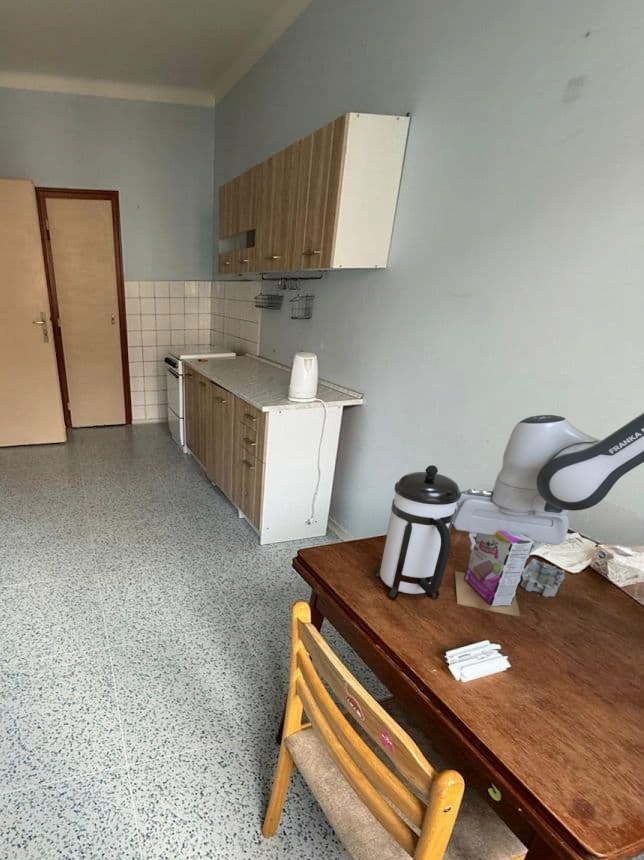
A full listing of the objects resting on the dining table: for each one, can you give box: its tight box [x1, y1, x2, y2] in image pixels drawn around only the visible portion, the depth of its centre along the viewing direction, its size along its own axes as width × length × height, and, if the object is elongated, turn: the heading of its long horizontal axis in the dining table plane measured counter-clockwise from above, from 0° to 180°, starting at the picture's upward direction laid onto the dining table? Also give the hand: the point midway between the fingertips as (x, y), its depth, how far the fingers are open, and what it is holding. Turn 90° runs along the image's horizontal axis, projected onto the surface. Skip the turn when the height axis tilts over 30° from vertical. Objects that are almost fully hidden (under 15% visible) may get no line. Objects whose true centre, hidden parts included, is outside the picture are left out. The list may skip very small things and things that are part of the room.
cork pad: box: [454, 570, 521, 618], centre depth 108 cm, size 12×14×1 cm
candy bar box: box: [464, 531, 534, 606], centre depth 104 cm, size 11×5×16 cm, turn 3°
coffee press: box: [373, 465, 462, 601], centre depth 103 cm, size 17×16×30 cm
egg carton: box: [520, 558, 566, 598], centre depth 110 cm, size 11×8×4 cm
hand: (498, 553), depth 103 cm, fingers open, 8 cm apart
